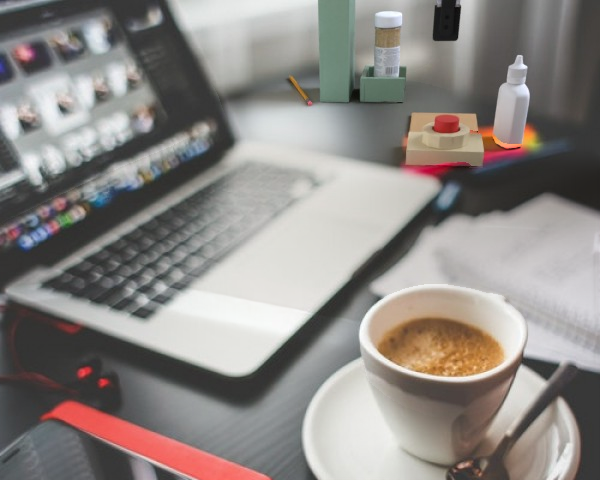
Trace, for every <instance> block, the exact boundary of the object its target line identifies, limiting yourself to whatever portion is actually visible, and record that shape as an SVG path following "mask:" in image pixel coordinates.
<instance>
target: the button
mask: <svg viewBox="0 0 600 480" xmlns="http://www.w3.org/2000/svg"><path fill="white" fill-rule="evenodd" d="M458 127H459V118H458V117H457V116H454V115H439V116H436V117H435V122H434V131H435V132H438V133H456V132H458Z"/></svg>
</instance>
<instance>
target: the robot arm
mask: <svg viewBox="0 0 600 480" xmlns="http://www.w3.org/2000/svg"><path fill="white" fill-rule="evenodd" d="M461 14H462V5H461V0H436V4H434V10H433V24H432V27H433V28H432V41H434V42H457V41H458V40H459V35H460V23H461Z"/></svg>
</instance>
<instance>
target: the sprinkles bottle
mask: <svg viewBox="0 0 600 480" xmlns="http://www.w3.org/2000/svg"><path fill="white" fill-rule="evenodd" d="M373 17H374V19H373V23H374V24H373V25H374V48H373V49H374V51H373V59H374V60H373V66H374V77H399V66H400V59H401V57H400V56H401V30H402V29H401V28H402V25H403V13H402V12H399V11H394V10H386V11H378V12H376V13H375V14H374V16H373Z"/></svg>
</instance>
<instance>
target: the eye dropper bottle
mask: <svg viewBox="0 0 600 480" xmlns="http://www.w3.org/2000/svg"><path fill="white" fill-rule="evenodd" d="M523 60H524V56H523V55H522V54H518V55H516V57H515V60H514V62H513V64H510V65H508V67H507V68H508V69H507V76H506V82H503V83H502V84H501V85H500V87H499V89H498V95H497V99H496V108H495V114H494V122H493V128H492V129H493V130H492V135H493V134H494V135H495V136H496V137H497V139H498V140H500V141H501V142H503V143H507V144H522V145H523V143H524V136H525V130H526V129H525V128H526V124H527V117H528V112H529V105H530V100H531V99H530V96H531V95H530V90H529V88H528V86H527V85H526V80H527V73H528V66H527V65H526V64H524V61H523Z"/></svg>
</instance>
